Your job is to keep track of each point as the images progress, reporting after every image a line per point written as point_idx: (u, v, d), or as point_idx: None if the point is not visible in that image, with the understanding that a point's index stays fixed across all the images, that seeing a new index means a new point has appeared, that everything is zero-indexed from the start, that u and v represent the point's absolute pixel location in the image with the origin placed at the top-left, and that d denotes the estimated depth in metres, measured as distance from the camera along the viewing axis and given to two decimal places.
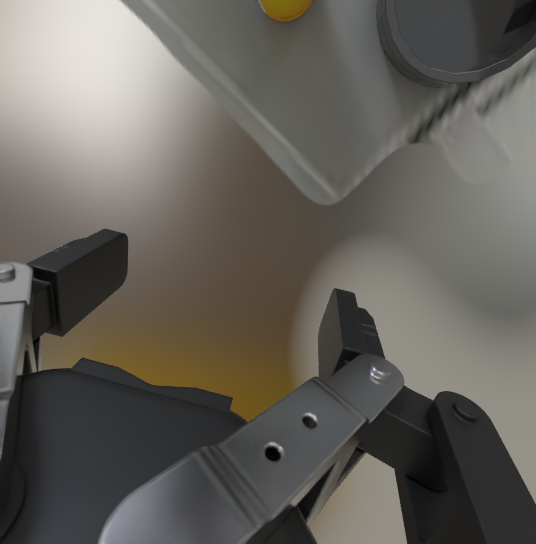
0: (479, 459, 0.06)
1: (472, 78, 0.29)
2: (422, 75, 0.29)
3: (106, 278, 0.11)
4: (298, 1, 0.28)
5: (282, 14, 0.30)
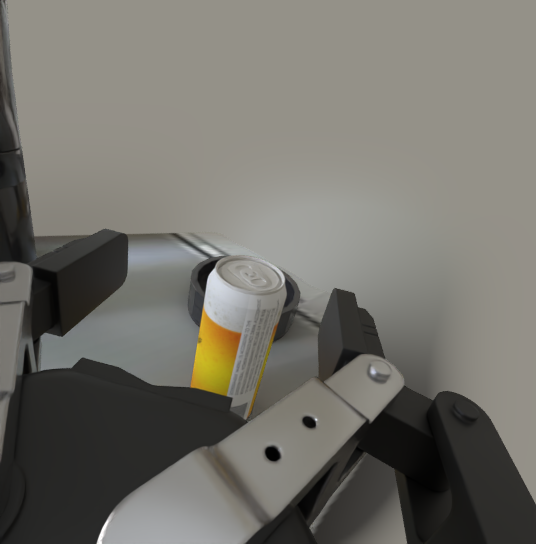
0: (479, 459, 0.06)
1: (296, 286, 0.45)
2: (297, 305, 0.41)
3: (106, 278, 0.11)
4: None
5: None
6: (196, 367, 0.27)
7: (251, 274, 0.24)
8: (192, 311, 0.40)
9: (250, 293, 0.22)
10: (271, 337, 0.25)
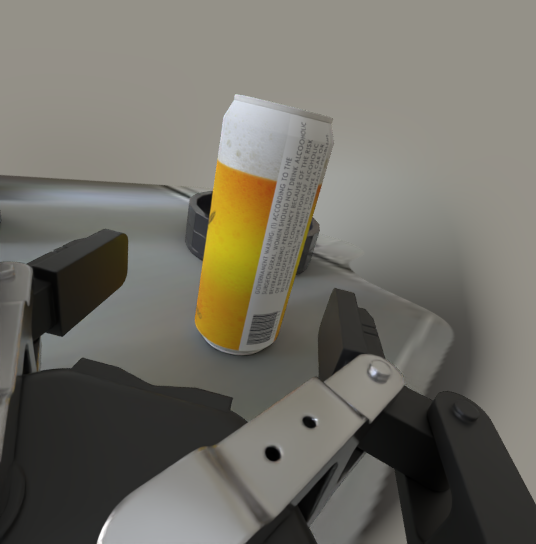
0: (479, 459, 0.06)
1: (313, 219, 0.38)
2: (317, 234, 0.35)
3: (106, 278, 0.11)
4: None
5: None
6: (207, 261, 0.19)
7: None
8: (191, 241, 0.33)
9: (291, 110, 0.15)
10: (313, 205, 0.18)
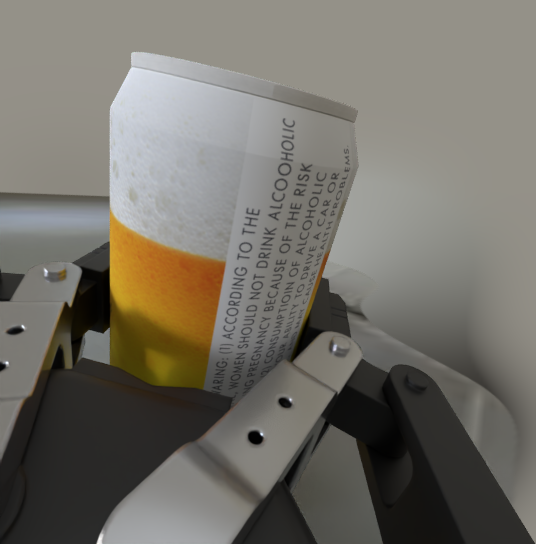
0: (432, 424, 0.07)
1: None
2: None
3: None
4: None
5: None
6: None
7: None
8: None
9: (255, 88, 0.05)
10: (312, 292, 0.09)
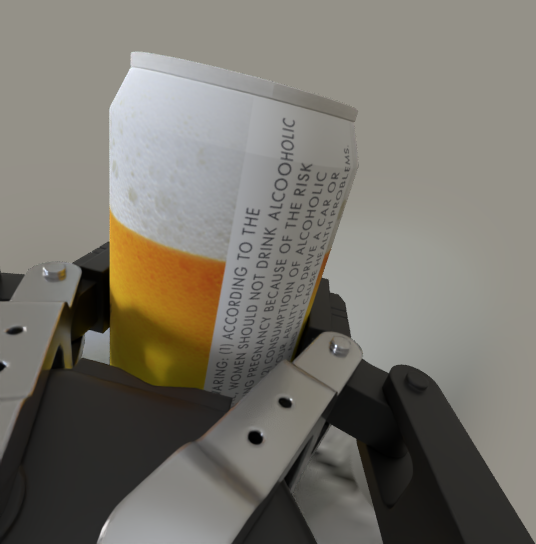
0: (432, 424, 0.07)
1: None
2: None
3: None
4: None
5: None
6: None
7: None
8: None
9: (255, 87, 0.05)
10: (313, 291, 0.09)
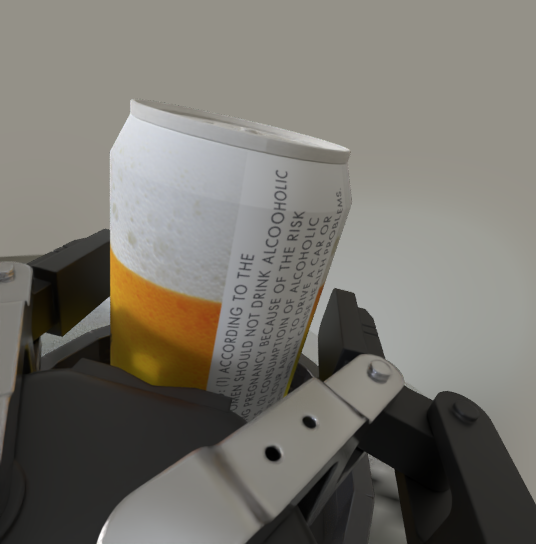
0: (479, 459, 0.06)
1: None
2: None
3: (106, 278, 0.11)
4: None
5: None
6: None
7: (249, 129, 0.08)
8: None
9: (249, 143, 0.06)
10: (308, 322, 0.09)
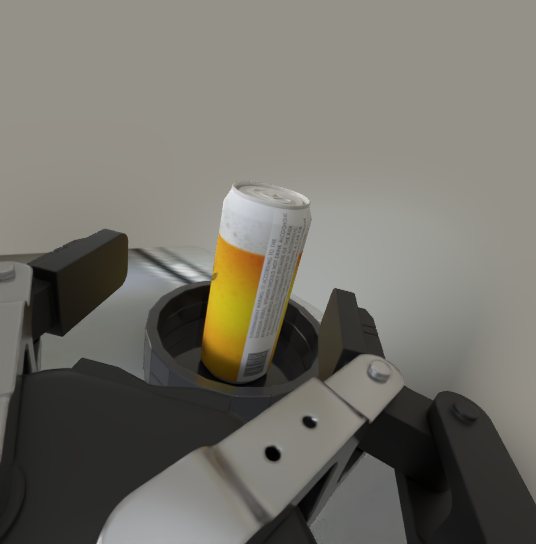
0: (479, 459, 0.06)
1: (319, 326, 0.29)
2: None
3: (106, 278, 0.11)
4: None
5: None
6: (210, 310, 0.24)
7: (273, 194, 0.21)
8: None
9: (275, 205, 0.19)
10: (295, 268, 0.22)
